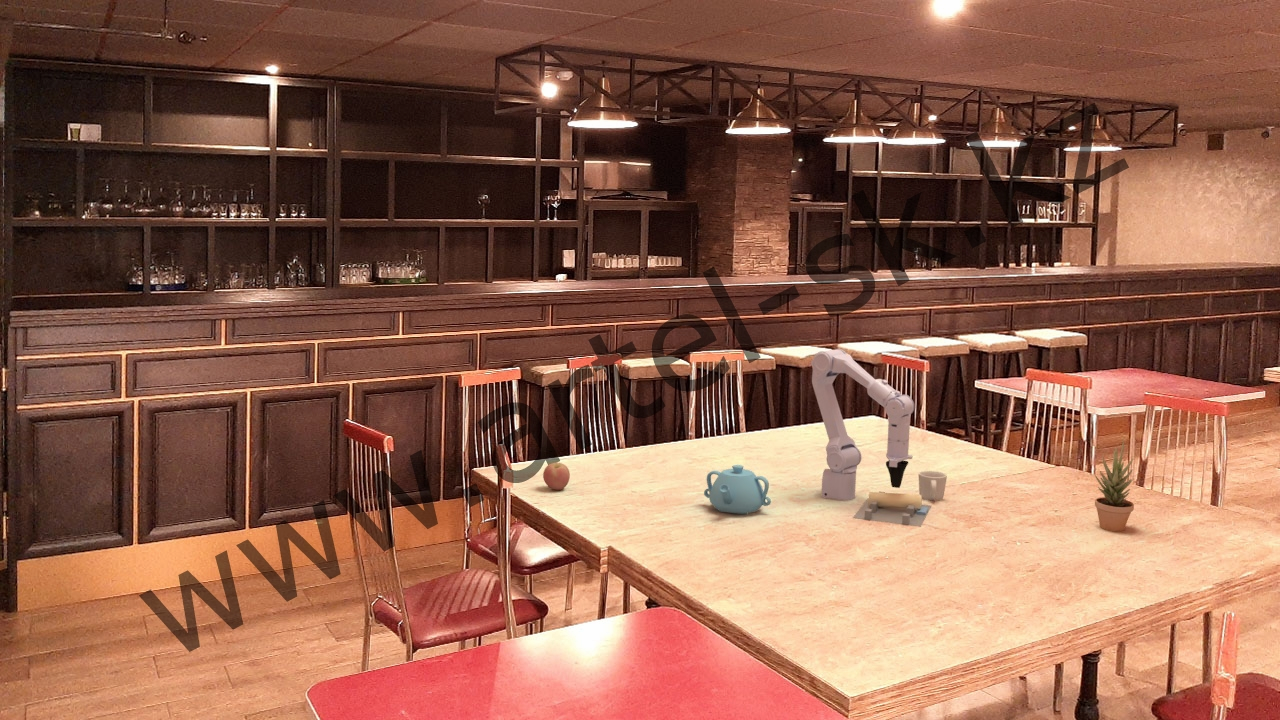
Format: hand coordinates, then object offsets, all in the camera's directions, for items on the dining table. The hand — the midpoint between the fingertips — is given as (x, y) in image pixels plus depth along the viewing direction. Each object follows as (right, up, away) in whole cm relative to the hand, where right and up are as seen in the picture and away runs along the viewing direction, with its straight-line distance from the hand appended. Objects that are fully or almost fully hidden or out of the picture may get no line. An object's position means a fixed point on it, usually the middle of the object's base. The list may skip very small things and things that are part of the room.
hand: (895, 487), depth 287 cm
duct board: (-1, -8, -2) cm, 8 cm away
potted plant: (+56, -10, -11) cm, 58 cm away
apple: (-96, -3, +20) cm, 98 cm away
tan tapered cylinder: (0, -6, +1) cm, 6 cm away
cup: (+14, -6, +13) cm, 19 cm away
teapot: (-45, -7, -1) cm, 46 cm away
